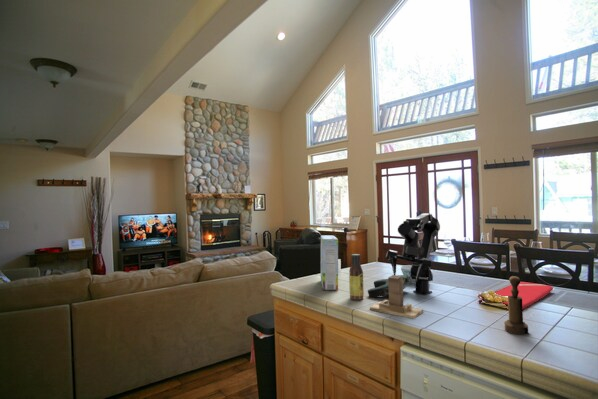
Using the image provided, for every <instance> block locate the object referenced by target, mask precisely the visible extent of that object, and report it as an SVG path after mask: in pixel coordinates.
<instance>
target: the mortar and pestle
mask: <svg viewBox="0 0 598 399" xmlns="http://www.w3.org/2000/svg"><path fill="white" fill-rule="evenodd" d="M508 281H509V284H510V285H512V289H511V293H512V296H508V309H509V310H508V309H507V310H508V319H507V320H505V321H504V331H505V332H507V333H510V334H513V335H519V336H520V335H522V336H523V335H528V334H529V326H528V324H526V322H525V321H524V316H523V315H524V314H523V312H524V309H522V297H519V296H518V293H519V290H518V288H517V287H518V285H519V283H520V282H521V279H520V277H519V276H515V275H512V276H510V277H509V278H508Z"/></svg>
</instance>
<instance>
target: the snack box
mask: <svg viewBox="0 0 598 399" xmlns="http://www.w3.org/2000/svg"><path fill="white" fill-rule="evenodd" d="M320 283H321V287H322V290H323V291H338V290H339V239H338V238H337V237H336V236H335V235H332V234H331V235H329V234H327V235H325V234H324V235H323V234H322V235H320Z"/></svg>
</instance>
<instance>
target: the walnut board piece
mask: <svg viewBox="0 0 598 399" xmlns="http://www.w3.org/2000/svg"><path fill="white" fill-rule="evenodd" d="M387 279H388V287H389V295H388V300H389V304H390V305H395V306H401V307H403V306H404V289H403V276H397V275H396V274H395V275H394V274H393V275H390V276H388V277H387Z"/></svg>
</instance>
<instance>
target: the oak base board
mask: <svg viewBox="0 0 598 399" xmlns="http://www.w3.org/2000/svg"><path fill="white" fill-rule="evenodd" d="M412 305H413V304H412V303H406V304H405V305H403V307H401V306H395V305H390V304H389V299H383V300H382V301H378V302H377V303H375V304H373V305H372V306H370V307H369V310H370V311H374V312H380V313H385V314H390V315H393V316H394V315H395V316H400V317H404V318H410V319H416V318H417V317H418V316H420V315H421V314H422V313H423V311H424V310H423V308H420V307H419V308H418V307H413V306H412Z"/></svg>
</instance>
